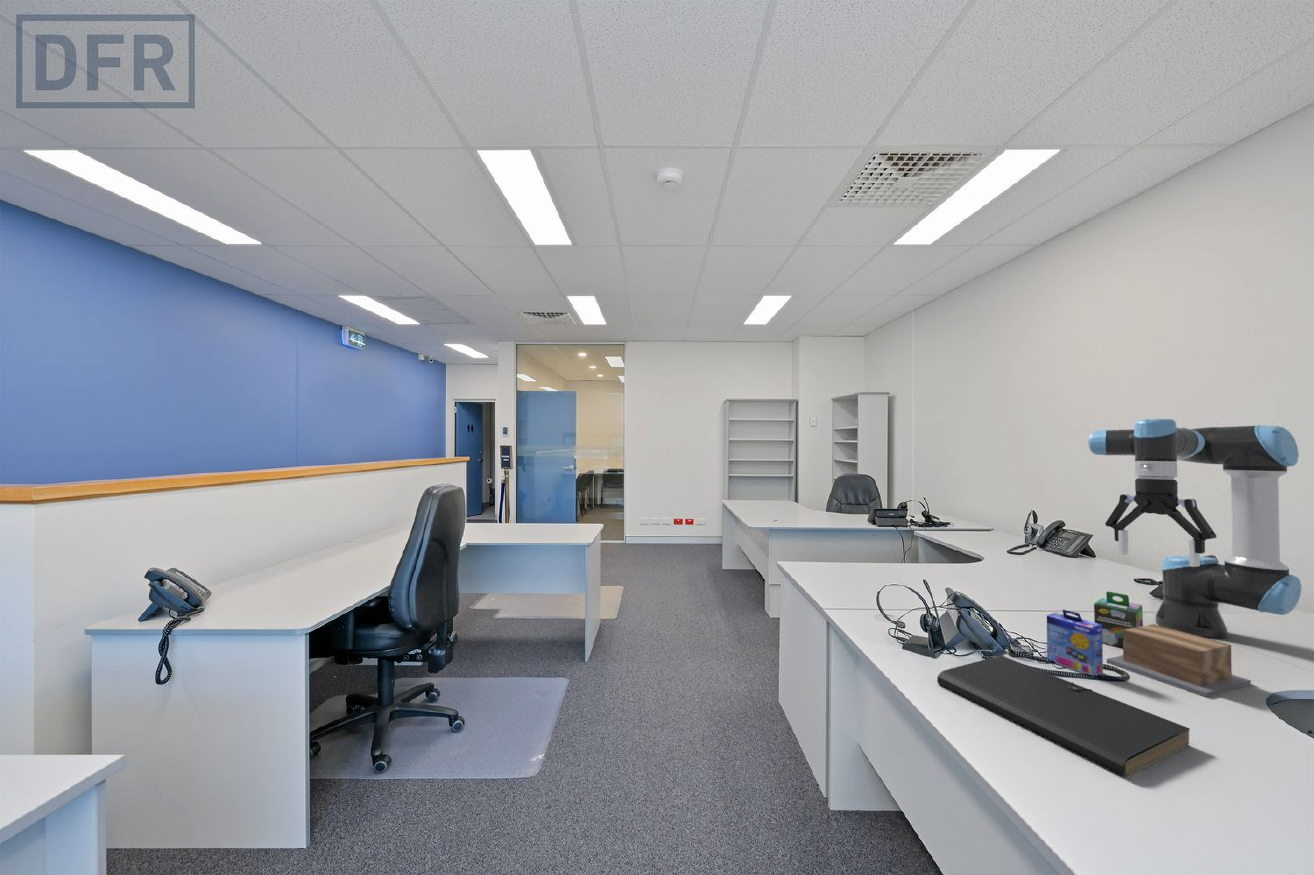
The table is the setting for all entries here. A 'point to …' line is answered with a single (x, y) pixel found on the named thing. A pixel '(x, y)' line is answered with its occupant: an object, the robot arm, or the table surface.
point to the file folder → (1068, 714)
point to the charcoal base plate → (1203, 690)
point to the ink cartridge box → (1075, 643)
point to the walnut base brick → (1178, 654)
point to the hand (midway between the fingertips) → (1157, 560)
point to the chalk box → (1116, 617)
